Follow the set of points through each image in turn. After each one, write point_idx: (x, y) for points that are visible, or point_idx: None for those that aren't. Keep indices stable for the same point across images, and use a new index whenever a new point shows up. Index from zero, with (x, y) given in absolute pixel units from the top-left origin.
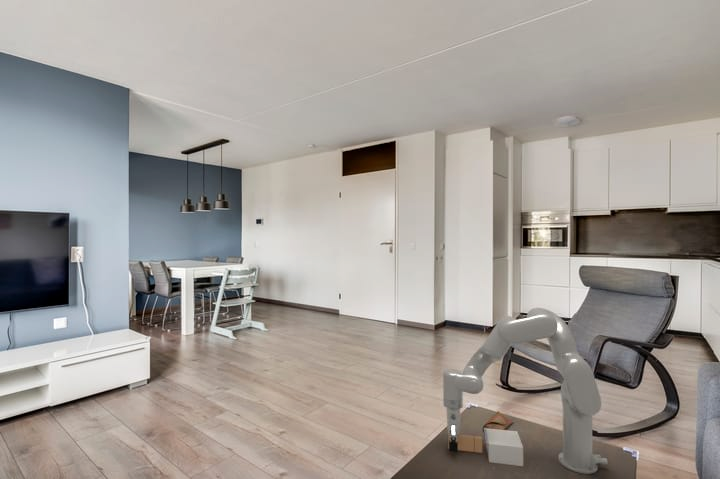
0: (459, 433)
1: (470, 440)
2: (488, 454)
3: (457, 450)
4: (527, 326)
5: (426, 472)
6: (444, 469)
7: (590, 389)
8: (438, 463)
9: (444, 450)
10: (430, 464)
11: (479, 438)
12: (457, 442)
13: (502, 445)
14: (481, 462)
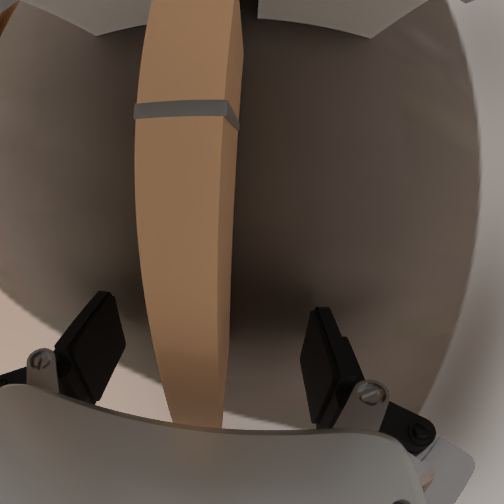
0: (410, 459)
1: (227, 179)
2: (343, 11)
3: (330, 314)
4: None
5: (426, 398)
6: (432, 349)
7: None
8: (383, 377)
9: (243, 359)
10: None
11: (231, 13)
12: (354, 371)
13: None
14: (386, 99)
